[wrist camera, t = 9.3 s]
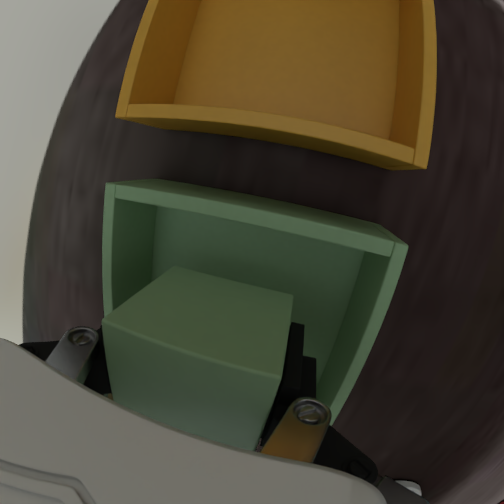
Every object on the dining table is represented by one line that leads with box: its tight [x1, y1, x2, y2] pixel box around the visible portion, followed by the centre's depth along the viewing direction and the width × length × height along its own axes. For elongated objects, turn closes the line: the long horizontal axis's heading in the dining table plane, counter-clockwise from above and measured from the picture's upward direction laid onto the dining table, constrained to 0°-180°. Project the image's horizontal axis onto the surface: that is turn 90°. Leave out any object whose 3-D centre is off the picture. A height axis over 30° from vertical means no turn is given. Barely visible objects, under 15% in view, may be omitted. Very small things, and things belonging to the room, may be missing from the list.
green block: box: [102, 266, 294, 452], centre depth 10 cm, size 5×5×5 cm
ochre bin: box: [115, 0, 437, 170], centre depth 10 cm, size 12×11×4 cm
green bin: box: [102, 179, 408, 426], centre depth 14 cm, size 12×11×4 cm
